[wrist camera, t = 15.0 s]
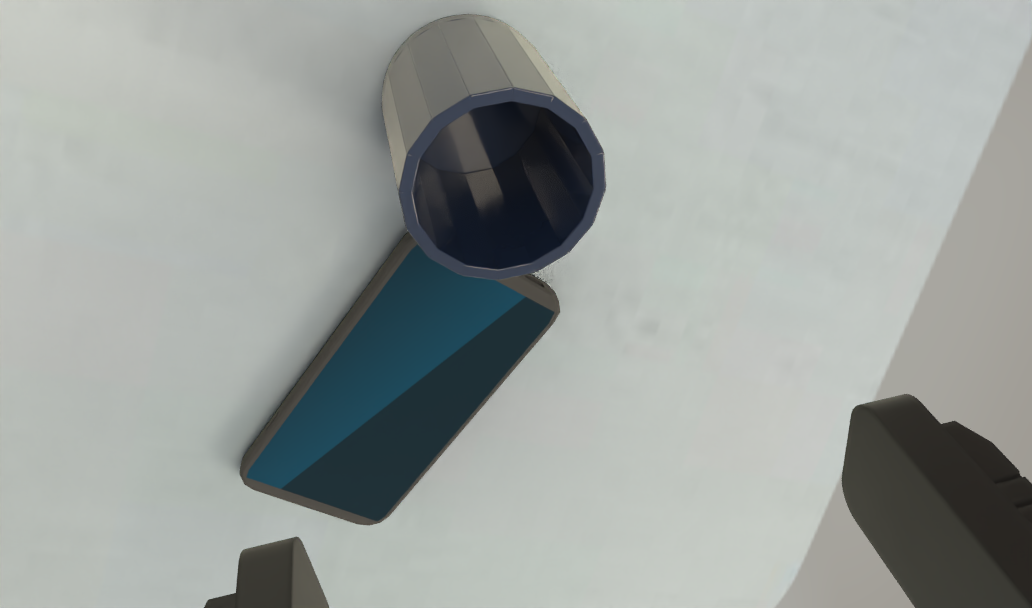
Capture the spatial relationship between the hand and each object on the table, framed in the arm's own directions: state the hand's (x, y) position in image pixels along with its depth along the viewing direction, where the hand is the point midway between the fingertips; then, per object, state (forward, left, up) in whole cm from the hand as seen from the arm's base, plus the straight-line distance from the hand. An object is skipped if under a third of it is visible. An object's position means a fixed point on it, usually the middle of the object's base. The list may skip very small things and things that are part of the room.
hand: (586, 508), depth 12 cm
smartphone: (+4, +14, -21) cm, 25 cm away
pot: (-1, +2, -21) cm, 21 cm away
